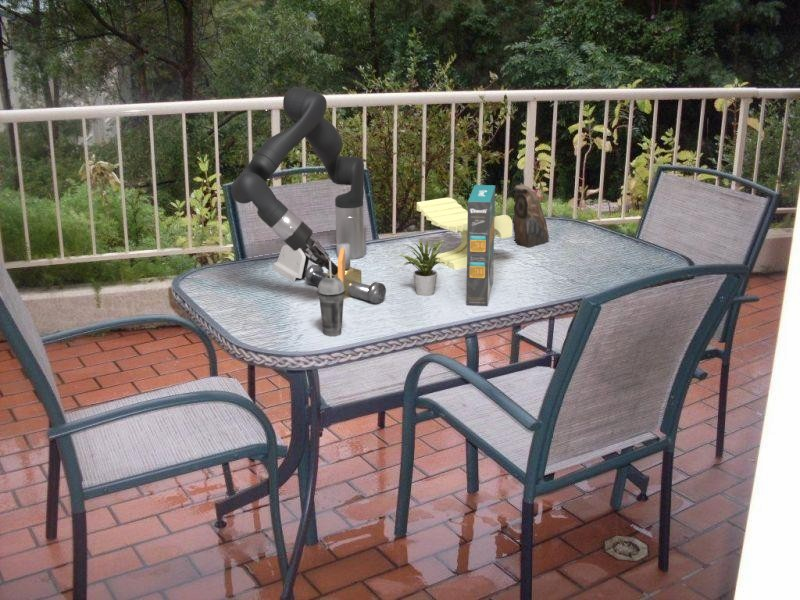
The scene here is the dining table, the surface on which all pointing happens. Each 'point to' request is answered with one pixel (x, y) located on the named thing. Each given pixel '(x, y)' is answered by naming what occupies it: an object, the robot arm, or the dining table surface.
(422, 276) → the house plant
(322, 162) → the robot arm
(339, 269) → the lever
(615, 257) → the dining table surface
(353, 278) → the valve
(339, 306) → the beverage cup
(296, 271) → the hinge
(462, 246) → the slatted curved stool
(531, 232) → the owl
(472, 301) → the cake mix box
